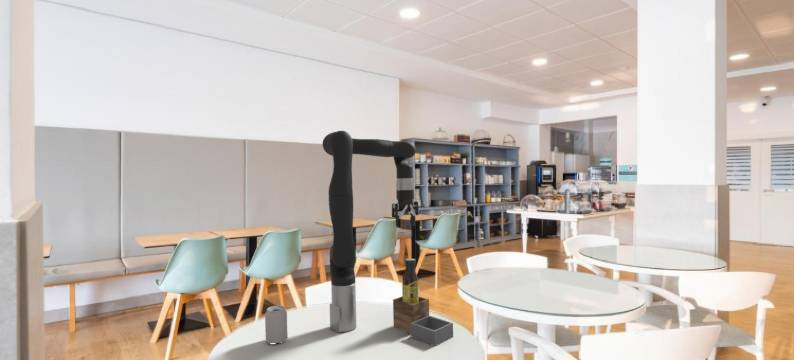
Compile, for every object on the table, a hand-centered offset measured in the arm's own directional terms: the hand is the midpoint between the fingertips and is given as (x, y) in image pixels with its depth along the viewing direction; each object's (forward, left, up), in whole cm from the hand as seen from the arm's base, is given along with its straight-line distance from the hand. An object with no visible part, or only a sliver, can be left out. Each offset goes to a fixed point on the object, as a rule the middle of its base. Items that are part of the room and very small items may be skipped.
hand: (405, 226), depth 169 cm
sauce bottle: (-12, -13, -30) cm, 35 cm away
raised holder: (-12, -13, -36) cm, 40 cm away
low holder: (-14, -25, -36) cm, 46 cm away
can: (-54, +13, -36) cm, 66 cm away
